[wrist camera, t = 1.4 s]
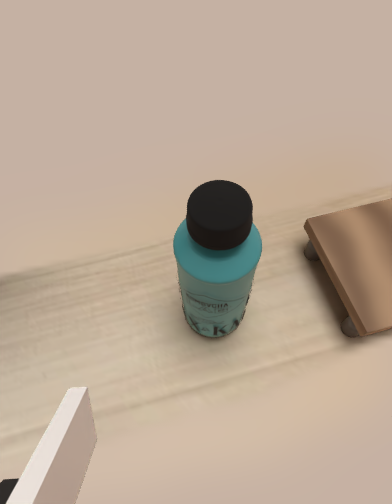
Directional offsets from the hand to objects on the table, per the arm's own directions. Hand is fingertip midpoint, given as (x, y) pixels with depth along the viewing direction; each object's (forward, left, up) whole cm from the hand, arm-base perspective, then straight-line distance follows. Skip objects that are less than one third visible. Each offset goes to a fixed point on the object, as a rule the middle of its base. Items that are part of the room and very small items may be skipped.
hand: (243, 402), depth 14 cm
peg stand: (+15, +18, -20) cm, 30 cm away
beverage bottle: (-3, +10, -20) cm, 22 cm away
